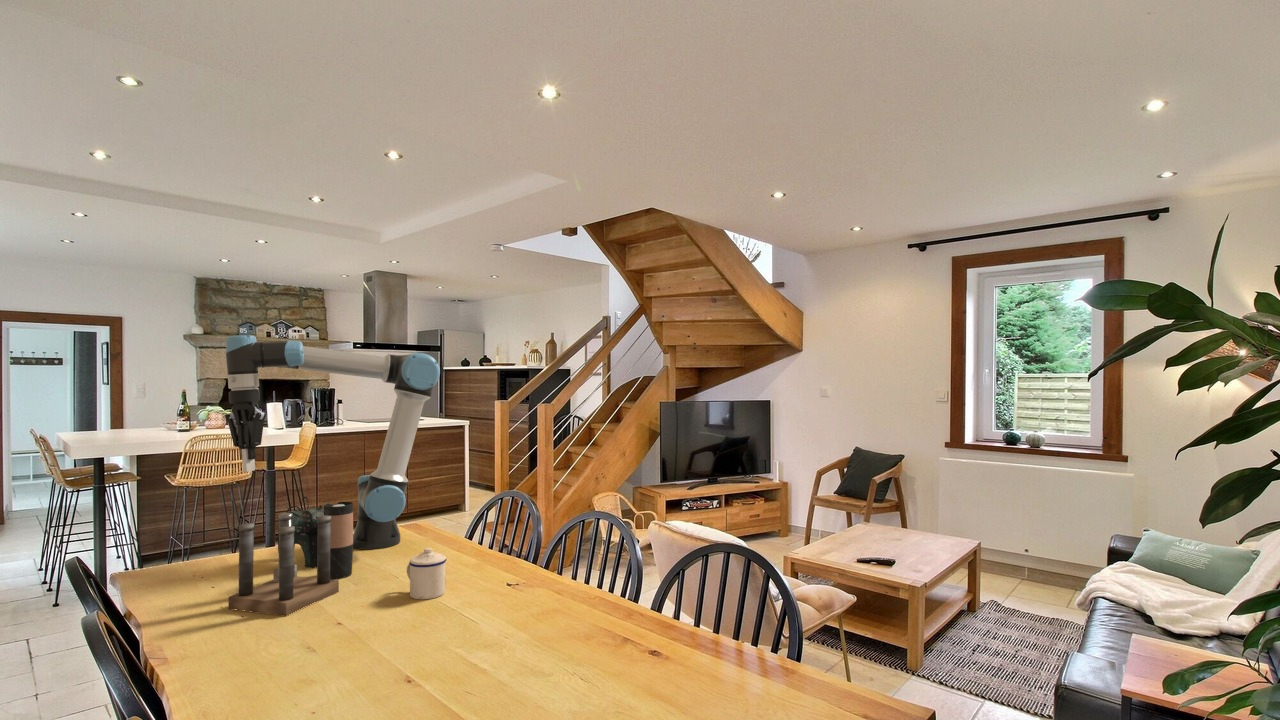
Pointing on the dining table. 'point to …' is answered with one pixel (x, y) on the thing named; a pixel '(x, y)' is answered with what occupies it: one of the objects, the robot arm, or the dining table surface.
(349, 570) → the travel mug
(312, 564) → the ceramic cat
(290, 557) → the stool
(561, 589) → the dining table surface
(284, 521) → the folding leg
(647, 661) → the dining table surface
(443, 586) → the teacup with lid
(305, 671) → the dining table surface
